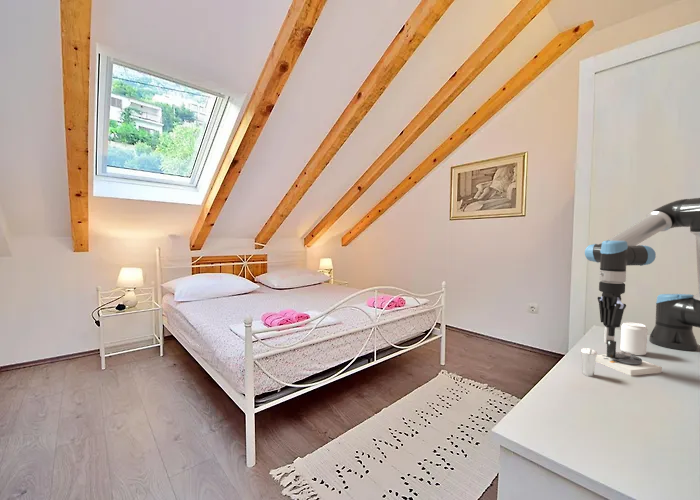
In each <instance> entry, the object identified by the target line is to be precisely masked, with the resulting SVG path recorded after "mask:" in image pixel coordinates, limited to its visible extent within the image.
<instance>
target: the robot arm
mask: <svg viewBox="0 0 700 500" xmlns="http://www.w3.org/2000/svg"><path fill="white" fill-rule="evenodd" d="M681 227H682V228H683V227H684V228H689V232H690V233H691V234H693V235H694V236H695V244H696V246H695V248H696V269H697V273H696V274H697V291H698V292H697V294H690V293H660V294H659V295H657V296H656V302H655V325H654V327H653V329H652V331H651V332H650V335H649V338H648V339H649V342H650V343H652V344H654V345H656V346H660V347H663V348H668V349H673V350H679V351H689V352H690V351H697V350H698V345H699V344H698V342H697V339H696V336H695V334H694V331H693V327H695V328H698V329H699V328H700V197H695V198H684V199H678V200H675V201H671V202H669V203H666V204H663V205H662V206H660V207H657V208H655V209H654V210H652V211H650V212H649V213H647V214H646V215H645V217H644V218H643V219H641V220H640V221H637V222H636V223H635V224H633V225H630V226H629V227H627V228H626V229H624V230H622V231H620V232H619V233H617V234H616V235H612V237H610V238H608V239H606V240H603V241H602V242H601V243H599V244H598V243H593V244H589V245H588V246H587V247H586V248H585V250H584V256H585V258H586V260H588V261H589V262H594V263H597V264H599V263H600V266H599V273H598V275H599V280H600V281H599V282H598V284H599V285H598V290H599V291H600V292H601V293H602V294H601V296H597V301H598V309H599V317H600V323H602V324H603V326H604V332H603V334H604V336H603V343H604V344H606V345H607V340H613V341H615V334H616V333H615V331H616V328H620V327H621V325H622V324H621V323H622V320H623V315H624V312H625V310H626V307H627V305H626V303H623V302H622V296H621V295H623V294H625V292H626V284H625V282H626V281H627V280H626V279H627V278H626V277H627V266H648V265H650V264H652V263H653V262H654V261H655V259H656V257H657V256H656V252H655V250H654V249H653V248H652V247H651V246H648V245H643V244H641V243H643V242H644V241H646V240H647V239H650V238H651V237H652V236H655V235H656V234H659V233H660V232H666V231H668V230H670V229H673V228H681Z"/></svg>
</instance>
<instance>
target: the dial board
mask: <svg viewBox="0 0 700 500" xmlns="http://www.w3.org/2000/svg"><path fill="white" fill-rule="evenodd" d="M596 363H597V364H600V365H603V366H605V367H608V368H610V369H613V370H615V371H617V372H620V373H622V374H624V375H627V376H629V377H633V376H634V377H636V376H642V375H653V374H660V373H662V372H663V371H662V370H663V366H661V365H658V364H654V363H652V362H648V361H646V360H643V359H642V364H641V365H630V364H624V363H620V362H617V361H615V360H612V359H611V358H609V357H607V353H605V354H604V353H603V354H597V358H596Z"/></svg>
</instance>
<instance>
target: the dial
mask: <svg viewBox="0 0 700 500" xmlns="http://www.w3.org/2000/svg"><path fill="white" fill-rule="evenodd" d="M606 354H607V357H609V358H611V359H612V360H615V361H617V362H620V363H624V364H630V365H641V364H642V360H643V359H642V358H640V357H638V356H637V355H632V354H631V353H630V352H627V351H622V350H621V351H617V341H616V340H614V341H613V340H607V344H606Z"/></svg>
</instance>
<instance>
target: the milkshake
mask: <svg viewBox="0 0 700 500" xmlns="http://www.w3.org/2000/svg"><path fill="white" fill-rule="evenodd" d="M597 355H598V352H597V351H596V350H595V349H593V348H588V347H587V348H586V347H583V348H581V349H580V357H581V373H582V375H584V376H586V377H595V369H596V363H597V362H596V358H597Z"/></svg>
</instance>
